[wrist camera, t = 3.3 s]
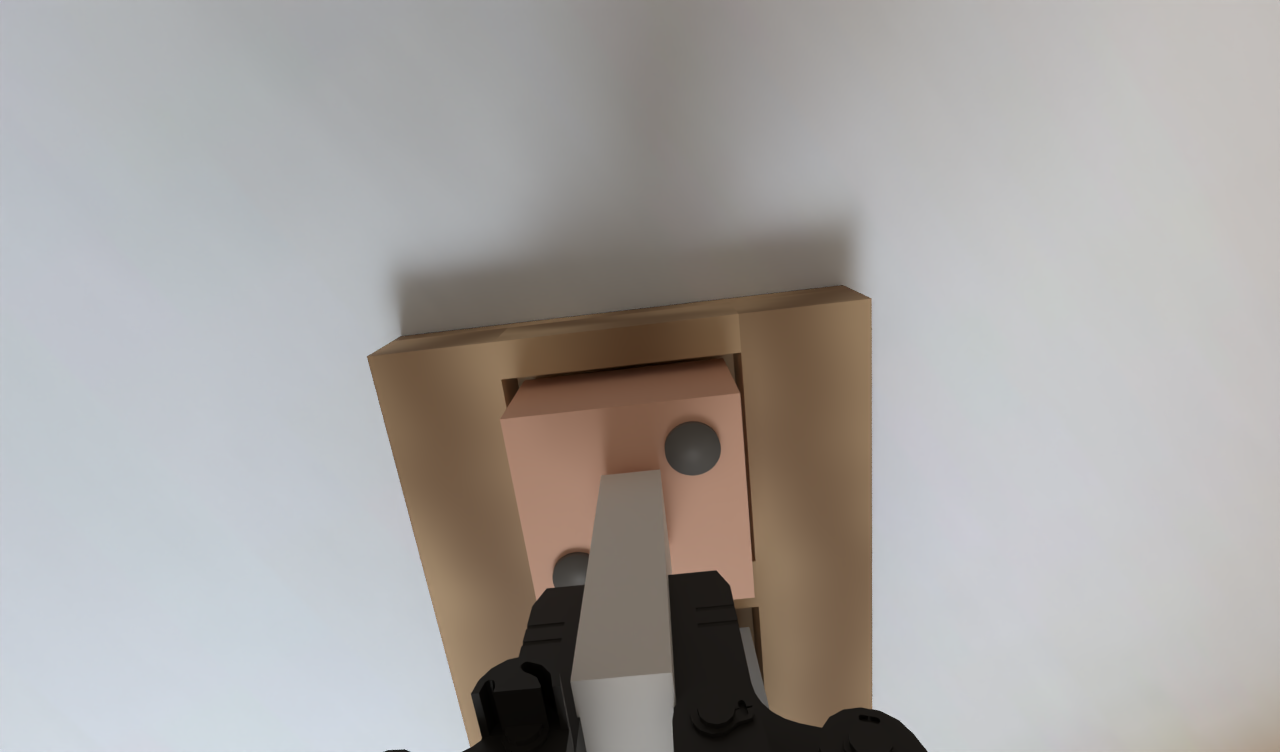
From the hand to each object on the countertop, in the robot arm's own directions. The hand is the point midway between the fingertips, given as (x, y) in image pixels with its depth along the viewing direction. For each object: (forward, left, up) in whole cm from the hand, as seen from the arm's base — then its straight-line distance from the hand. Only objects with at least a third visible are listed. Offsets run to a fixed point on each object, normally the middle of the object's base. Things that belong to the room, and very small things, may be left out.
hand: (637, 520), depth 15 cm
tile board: (0, -9, -5) cm, 10 cm away
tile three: (0, 0, -4) cm, 4 cm away
